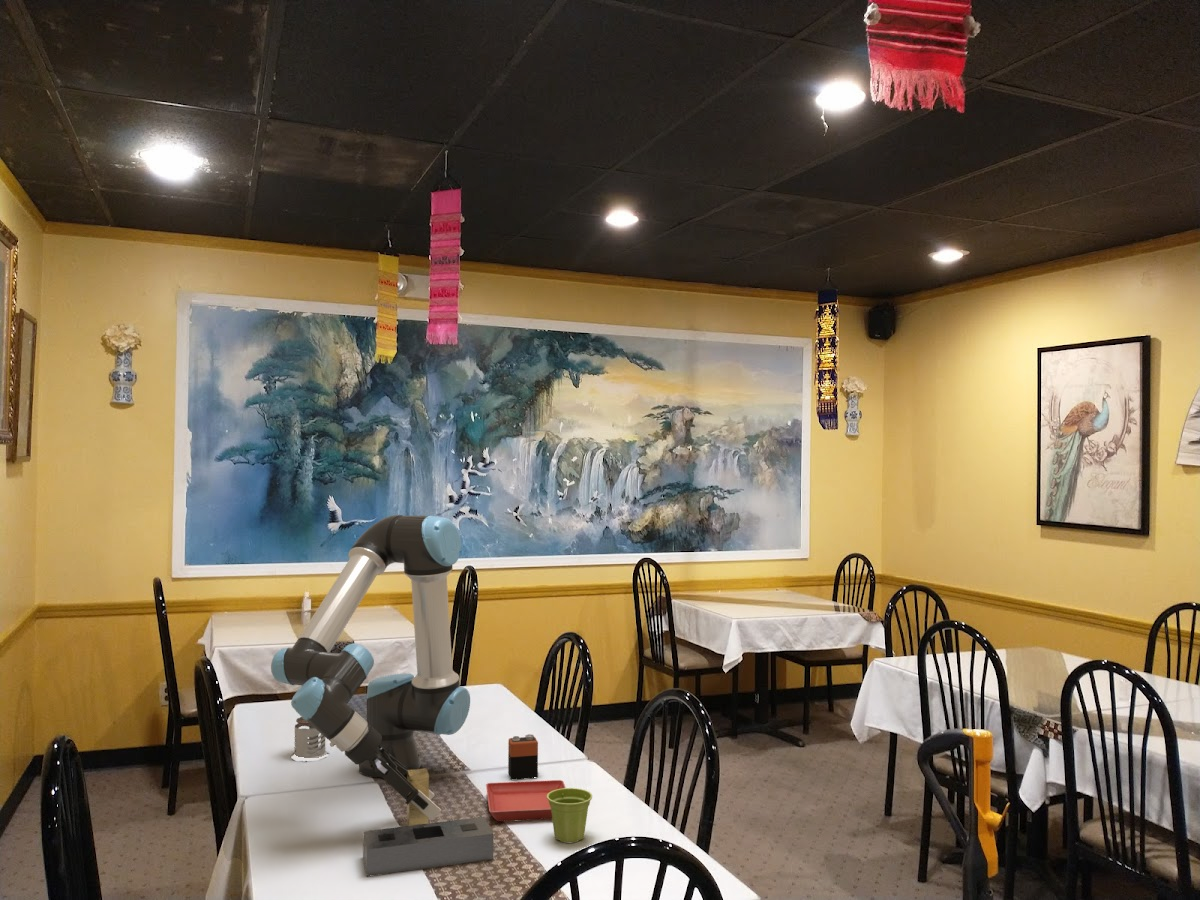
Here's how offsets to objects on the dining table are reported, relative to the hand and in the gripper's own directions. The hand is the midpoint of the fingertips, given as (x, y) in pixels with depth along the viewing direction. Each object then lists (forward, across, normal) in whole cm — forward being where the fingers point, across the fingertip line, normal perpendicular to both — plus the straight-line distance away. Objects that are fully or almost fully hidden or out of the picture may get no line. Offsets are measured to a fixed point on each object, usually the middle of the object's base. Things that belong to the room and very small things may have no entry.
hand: (433, 807), depth 195 cm
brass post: (+1, 0, -5) cm, 5 cm away
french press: (-13, -58, -20) cm, 63 cm away
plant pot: (+21, +14, +15) cm, 30 cm away
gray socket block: (+1, +15, -5) cm, 16 cm away
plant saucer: (+19, -5, +12) cm, 23 cm away
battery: (+21, -25, +15) cm, 36 cm away
